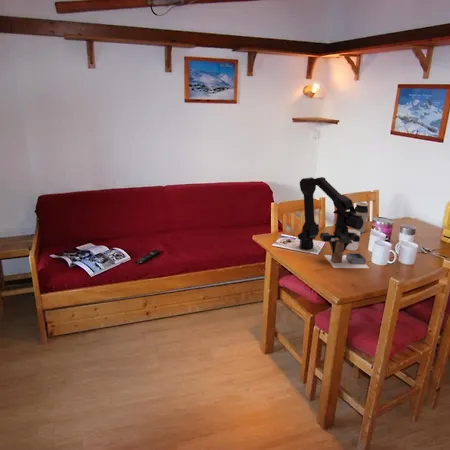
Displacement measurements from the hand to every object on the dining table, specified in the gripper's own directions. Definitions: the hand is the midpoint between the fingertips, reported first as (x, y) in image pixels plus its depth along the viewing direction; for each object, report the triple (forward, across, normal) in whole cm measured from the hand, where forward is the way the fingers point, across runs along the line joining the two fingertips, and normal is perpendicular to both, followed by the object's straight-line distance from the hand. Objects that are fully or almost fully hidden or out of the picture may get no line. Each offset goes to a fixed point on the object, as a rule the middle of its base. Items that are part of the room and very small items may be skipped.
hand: (337, 253), depth 204 cm
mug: (+6, +13, +18) cm, 23 cm away
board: (+6, +5, 0) cm, 7 cm away
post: (+4, 0, 0) cm, 4 cm away
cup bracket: (+6, +10, 0) cm, 11 cm away
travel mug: (+6, +32, +50) cm, 60 cm away
